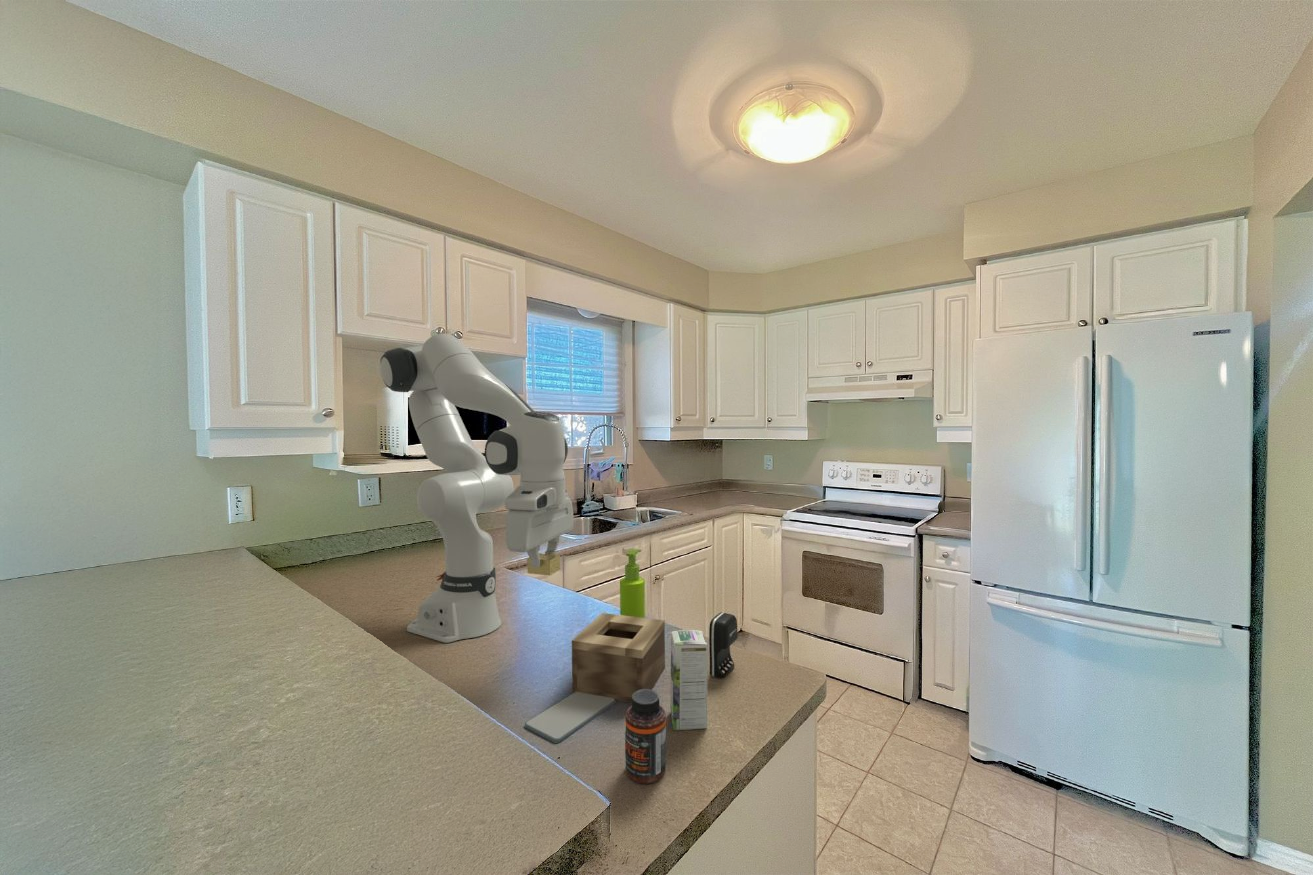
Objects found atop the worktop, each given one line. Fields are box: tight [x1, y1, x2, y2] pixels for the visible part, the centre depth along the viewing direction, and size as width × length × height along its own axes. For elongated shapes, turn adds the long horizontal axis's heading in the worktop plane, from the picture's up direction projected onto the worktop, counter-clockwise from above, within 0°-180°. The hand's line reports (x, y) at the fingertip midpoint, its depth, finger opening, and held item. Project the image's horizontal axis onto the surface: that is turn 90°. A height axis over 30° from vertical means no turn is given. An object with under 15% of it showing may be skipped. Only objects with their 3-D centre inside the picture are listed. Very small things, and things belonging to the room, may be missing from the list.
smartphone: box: [524, 692, 617, 744], centre depth 88 cm, size 8×1×15 cm
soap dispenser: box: [619, 548, 646, 618], centre depth 121 cm, size 6×7×20 cm
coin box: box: [571, 612, 666, 704], centre depth 99 cm, size 14×14×10 cm
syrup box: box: [669, 629, 709, 731], centre depth 86 cm, size 6×6×14 cm
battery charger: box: [708, 612, 739, 679], centre depth 102 cm, size 7×4×11 cm, turn 149°
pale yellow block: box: [526, 552, 561, 577], centre depth 100 cm, size 5×4×3 cm
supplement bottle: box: [624, 689, 667, 785], centre depth 73 cm, size 6×6×11 cm
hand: (543, 563), depth 100 cm, fingers closed on pale yellow block, 4 cm apart
